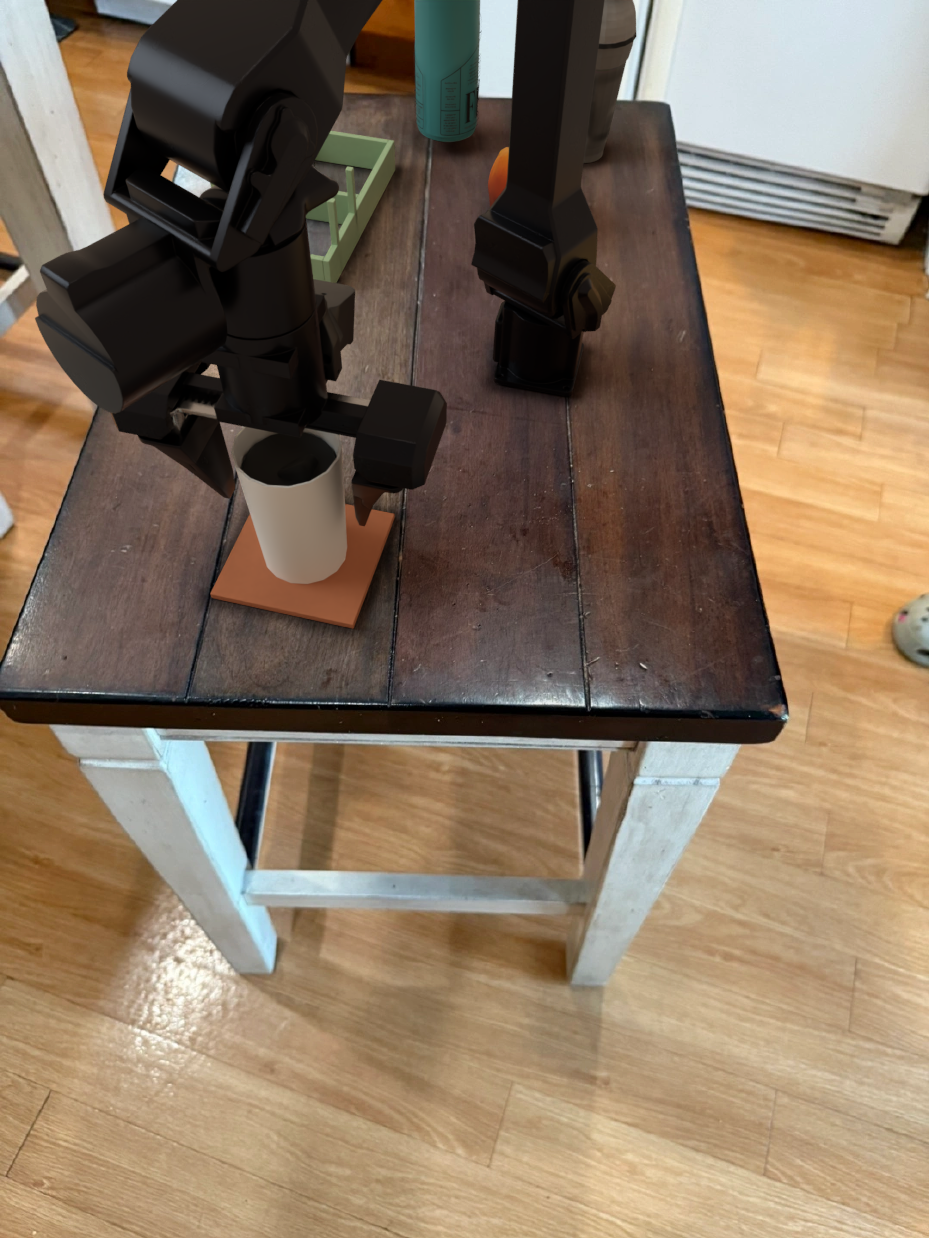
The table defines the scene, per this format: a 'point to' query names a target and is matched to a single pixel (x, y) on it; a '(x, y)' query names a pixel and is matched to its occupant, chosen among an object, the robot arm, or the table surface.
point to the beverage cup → (609, 71)
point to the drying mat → (316, 601)
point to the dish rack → (350, 196)
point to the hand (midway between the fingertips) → (296, 506)
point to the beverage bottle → (447, 68)
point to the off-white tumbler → (295, 500)
